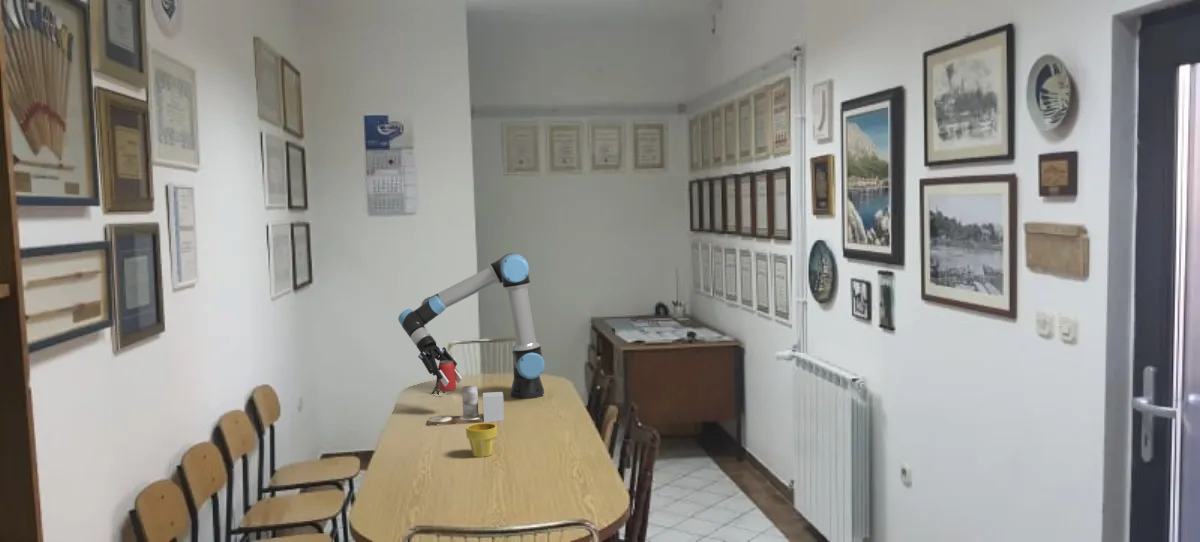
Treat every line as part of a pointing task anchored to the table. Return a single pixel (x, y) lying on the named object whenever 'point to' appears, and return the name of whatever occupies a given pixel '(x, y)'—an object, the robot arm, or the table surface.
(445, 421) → the board
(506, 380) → the table surface
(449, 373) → the beer can
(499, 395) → the white upright block
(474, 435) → the plant pot
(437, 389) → the eiffel tower figurine
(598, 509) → the table surface
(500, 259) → the robot arm
